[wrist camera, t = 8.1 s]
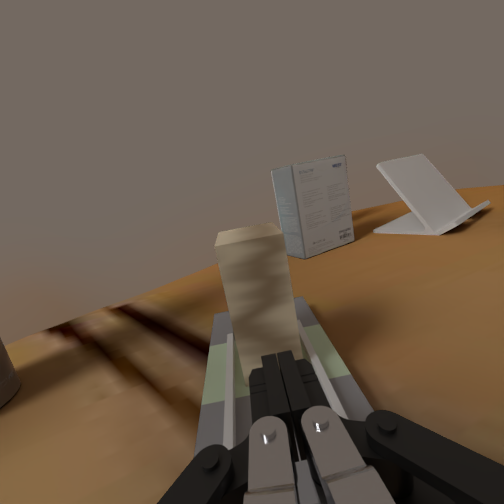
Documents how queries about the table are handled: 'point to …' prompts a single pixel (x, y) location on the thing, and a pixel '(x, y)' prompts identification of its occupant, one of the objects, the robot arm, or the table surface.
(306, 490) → the track
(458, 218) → the tablet stand
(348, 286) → the table surface
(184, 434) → the table surface
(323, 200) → the hard drive box
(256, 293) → the maple block
